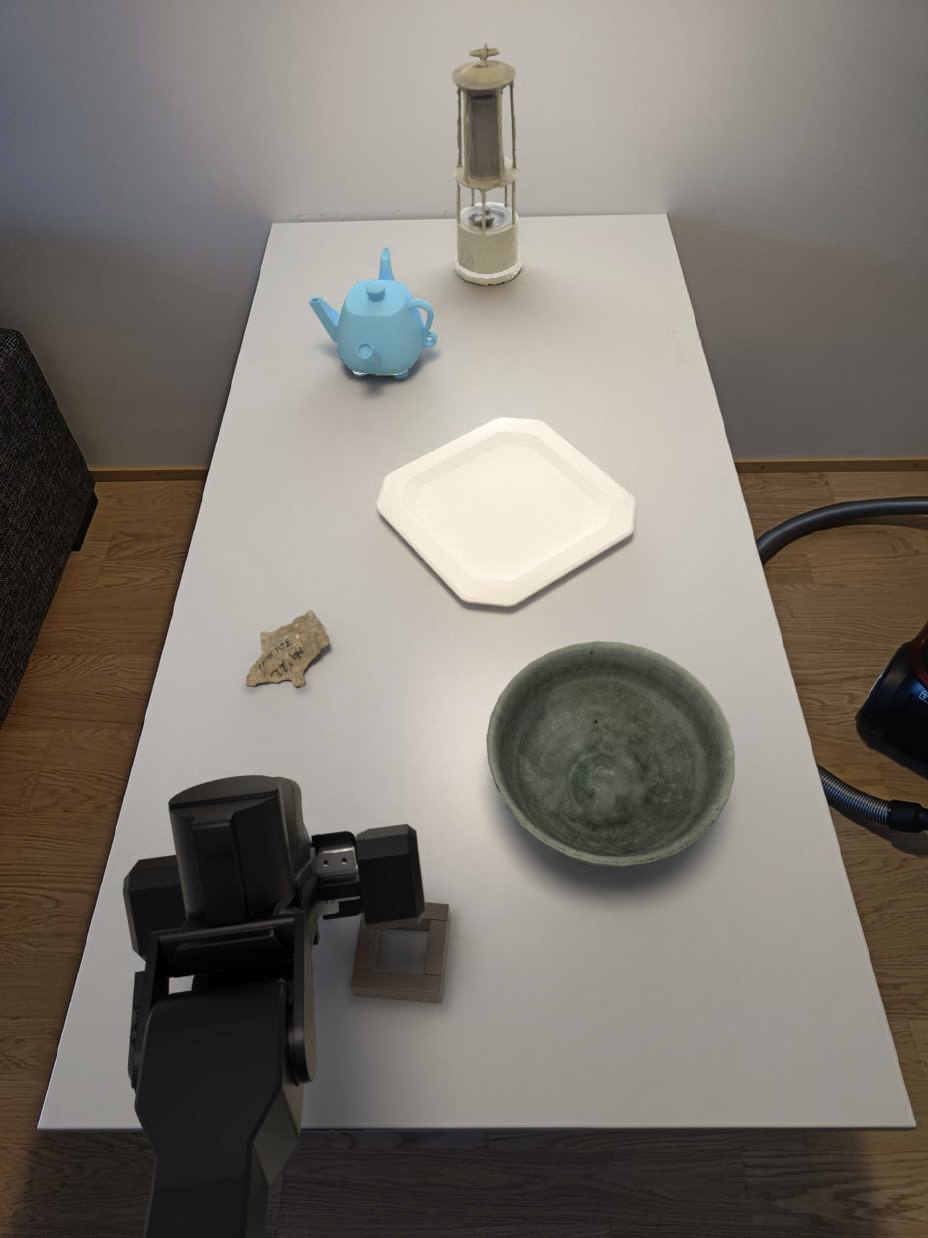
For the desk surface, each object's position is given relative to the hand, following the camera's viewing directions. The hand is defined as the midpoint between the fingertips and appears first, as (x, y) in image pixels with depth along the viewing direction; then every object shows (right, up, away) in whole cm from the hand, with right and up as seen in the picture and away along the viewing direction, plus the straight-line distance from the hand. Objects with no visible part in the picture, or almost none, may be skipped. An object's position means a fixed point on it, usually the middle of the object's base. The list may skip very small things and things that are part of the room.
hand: (293, 843), depth 66 cm
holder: (+8, -11, +8) cm, 16 cm away
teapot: (+1, +53, +57) cm, 77 cm away
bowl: (+25, 0, +17) cm, 30 cm away
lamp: (+16, +72, +71) cm, 102 cm away
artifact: (-5, +12, +27) cm, 30 cm away
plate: (+18, +29, +38) cm, 51 cm away
